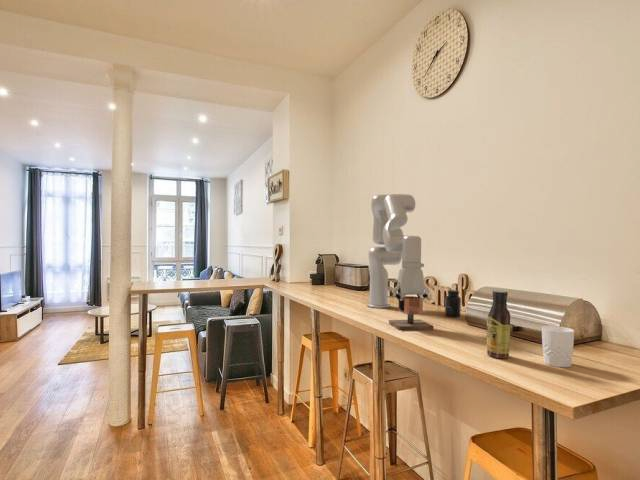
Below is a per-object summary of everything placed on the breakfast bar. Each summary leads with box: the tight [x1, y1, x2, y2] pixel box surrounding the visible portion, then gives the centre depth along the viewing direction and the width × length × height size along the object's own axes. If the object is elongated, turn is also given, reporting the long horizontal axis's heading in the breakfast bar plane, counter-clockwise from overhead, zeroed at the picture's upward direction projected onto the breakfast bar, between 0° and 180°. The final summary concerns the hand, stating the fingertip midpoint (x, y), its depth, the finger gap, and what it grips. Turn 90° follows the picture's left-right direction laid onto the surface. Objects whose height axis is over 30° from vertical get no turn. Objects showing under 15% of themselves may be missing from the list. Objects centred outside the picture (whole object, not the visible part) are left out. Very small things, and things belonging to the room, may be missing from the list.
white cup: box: [541, 325, 575, 368], centre depth 105 cm, size 8×8×10 cm
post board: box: [388, 314, 434, 332], centre depth 149 cm, size 12×14×11 cm
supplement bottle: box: [444, 289, 462, 318], centre depth 172 cm, size 7×7×12 cm
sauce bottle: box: [486, 289, 511, 359], centre depth 111 cm, size 7×6×20 cm
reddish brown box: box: [398, 295, 424, 315], centre depth 149 cm, size 7×7×6 cm
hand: (410, 309), depth 149 cm, fingers closed on reddish brown box, 7 cm apart
